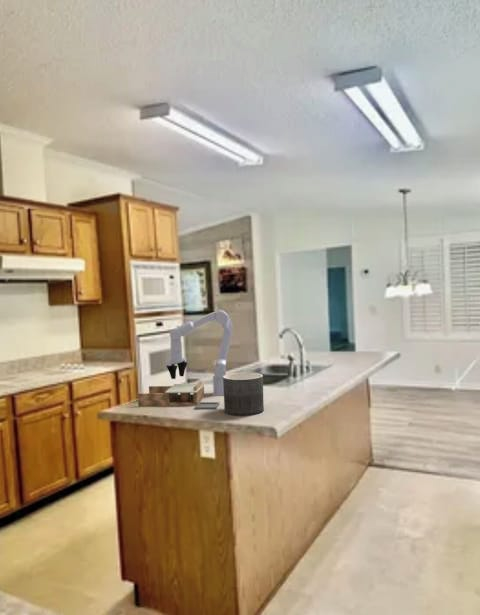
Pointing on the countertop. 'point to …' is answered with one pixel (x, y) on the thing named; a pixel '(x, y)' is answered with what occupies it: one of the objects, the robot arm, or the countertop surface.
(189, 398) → the pot
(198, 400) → the cold frame
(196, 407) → the tray
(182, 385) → the lid
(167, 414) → the countertop surface
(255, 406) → the planter
